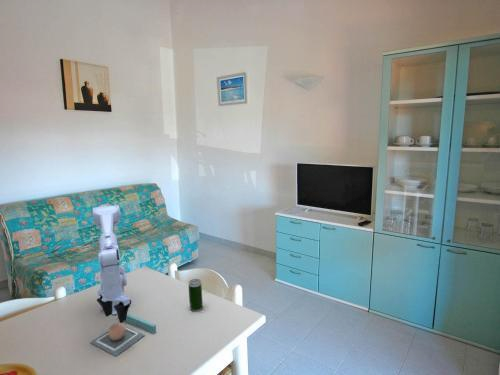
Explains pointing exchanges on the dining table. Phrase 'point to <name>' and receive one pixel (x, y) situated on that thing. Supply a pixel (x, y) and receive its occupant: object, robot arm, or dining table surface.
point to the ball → (116, 331)
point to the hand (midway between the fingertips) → (115, 318)
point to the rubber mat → (117, 342)
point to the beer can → (195, 294)
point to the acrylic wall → (141, 323)
